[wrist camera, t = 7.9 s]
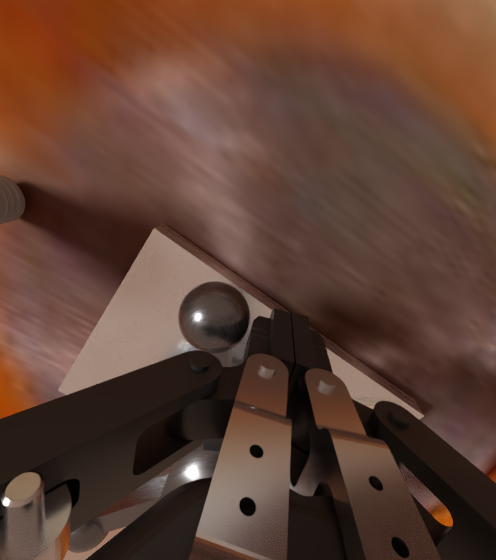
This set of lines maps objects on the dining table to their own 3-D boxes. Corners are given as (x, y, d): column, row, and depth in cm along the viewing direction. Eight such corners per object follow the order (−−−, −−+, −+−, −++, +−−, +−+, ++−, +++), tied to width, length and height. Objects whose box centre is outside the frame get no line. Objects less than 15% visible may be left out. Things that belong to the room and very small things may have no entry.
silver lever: (413, 258, 14) (500, 313, 9) (364, 484, 20) (398, 603, 15) (60, 247, 16) (-54, 289, 10) (108, 463, 21) (52, 564, 16)
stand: (413, 398, 20) (427, 420, 18) (285, 500, 24) (286, 526, 23) (163, 223, 17) (151, 229, 15) (71, 376, 22) (53, 394, 20)
